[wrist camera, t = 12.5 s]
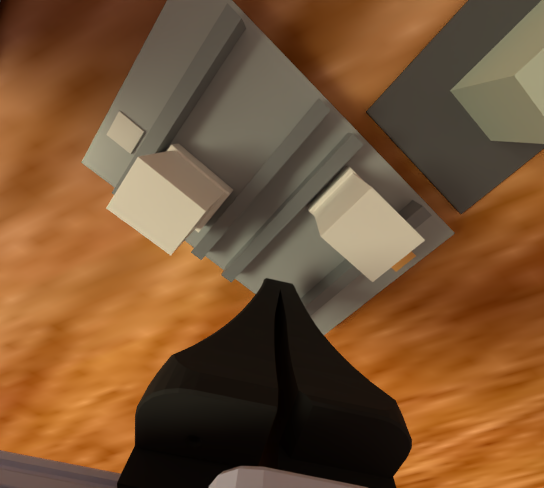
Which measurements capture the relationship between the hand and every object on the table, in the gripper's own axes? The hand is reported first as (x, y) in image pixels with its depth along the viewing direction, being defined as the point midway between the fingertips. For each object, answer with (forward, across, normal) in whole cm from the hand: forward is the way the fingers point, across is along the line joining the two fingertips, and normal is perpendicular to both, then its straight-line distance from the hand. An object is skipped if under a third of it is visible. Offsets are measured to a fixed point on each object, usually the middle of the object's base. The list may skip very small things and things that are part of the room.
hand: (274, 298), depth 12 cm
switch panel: (+3, +1, -4) cm, 5 cm away
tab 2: (+2, -2, -4) cm, 5 cm away
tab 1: (+2, +5, -4) cm, 6 cm away
